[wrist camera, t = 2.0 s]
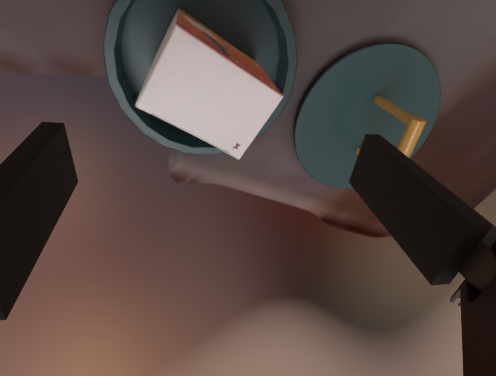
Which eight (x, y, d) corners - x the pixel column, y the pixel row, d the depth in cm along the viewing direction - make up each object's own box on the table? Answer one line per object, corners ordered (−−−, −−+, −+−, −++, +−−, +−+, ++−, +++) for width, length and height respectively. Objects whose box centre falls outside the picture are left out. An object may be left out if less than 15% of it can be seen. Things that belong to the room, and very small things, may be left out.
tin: (123, 138, 30) (117, 153, 28) (97, -61, 22) (86, -66, 19) (272, 142, 34) (279, 156, 31) (302, -30, 25) (316, -30, 22)
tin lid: (280, 183, 37) (301, 229, 30) (311, 33, 28) (351, 52, 21) (398, 183, 40) (441, 224, 34) (461, 49, 31) (536, 69, 25)
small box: (256, 60, 28) (288, 97, 20) (225, 110, 30) (241, 163, 22) (178, 4, 25) (175, 20, 16) (148, 65, 27) (132, 107, 18)
